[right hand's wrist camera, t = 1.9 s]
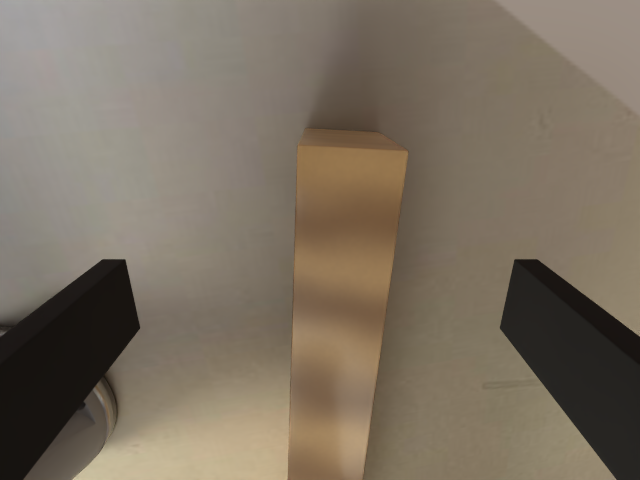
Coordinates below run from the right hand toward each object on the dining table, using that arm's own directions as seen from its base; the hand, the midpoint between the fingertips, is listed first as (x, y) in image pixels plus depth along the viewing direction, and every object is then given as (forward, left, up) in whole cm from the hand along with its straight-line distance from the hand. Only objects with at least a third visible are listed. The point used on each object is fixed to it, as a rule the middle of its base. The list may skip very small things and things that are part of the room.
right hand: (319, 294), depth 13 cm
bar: (-19, -10, -14) cm, 25 cm away
